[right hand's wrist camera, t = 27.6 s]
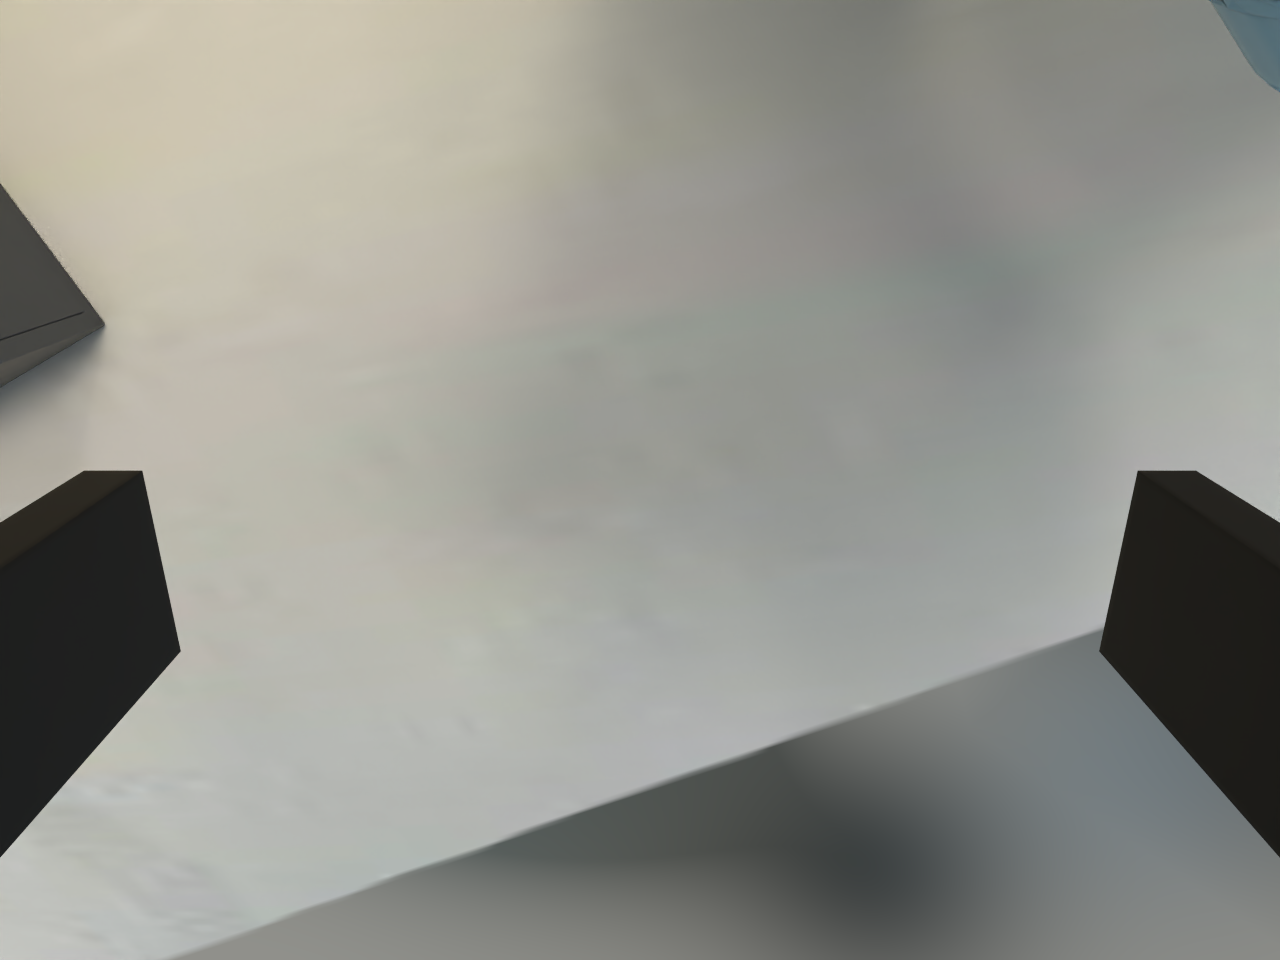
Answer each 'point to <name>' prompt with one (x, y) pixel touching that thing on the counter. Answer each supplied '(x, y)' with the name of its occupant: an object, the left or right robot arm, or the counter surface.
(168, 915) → the counter surface
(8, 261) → the box
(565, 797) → the counter surface
